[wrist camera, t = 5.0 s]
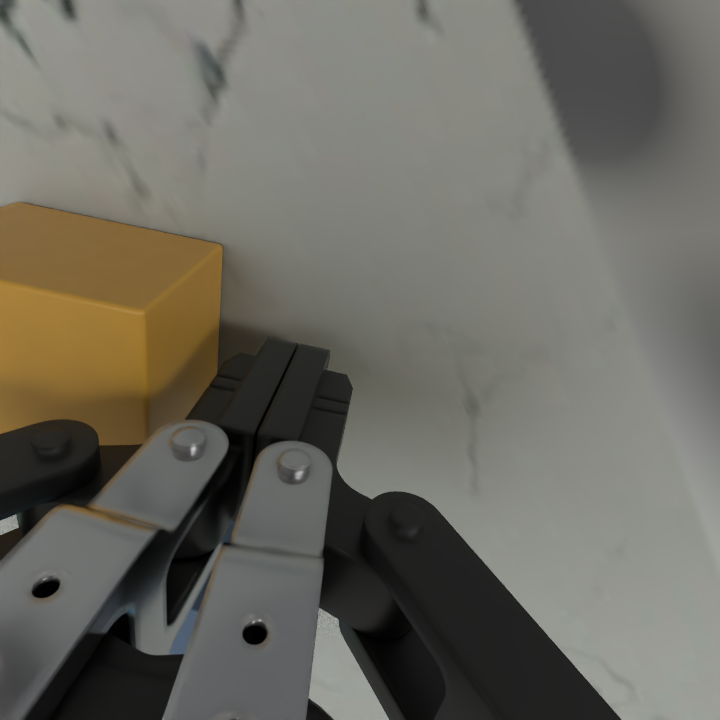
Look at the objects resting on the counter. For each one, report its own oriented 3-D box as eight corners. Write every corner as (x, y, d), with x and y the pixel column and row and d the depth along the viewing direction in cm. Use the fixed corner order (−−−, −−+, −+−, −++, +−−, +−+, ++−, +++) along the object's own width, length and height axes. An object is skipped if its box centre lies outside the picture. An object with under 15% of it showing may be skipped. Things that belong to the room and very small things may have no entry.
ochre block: (17, 200, 12) (-147, 250, 9) (224, 243, 12) (143, 311, 9) (45, 377, 15) (-75, 471, 11) (216, 413, 14) (151, 519, 11)
